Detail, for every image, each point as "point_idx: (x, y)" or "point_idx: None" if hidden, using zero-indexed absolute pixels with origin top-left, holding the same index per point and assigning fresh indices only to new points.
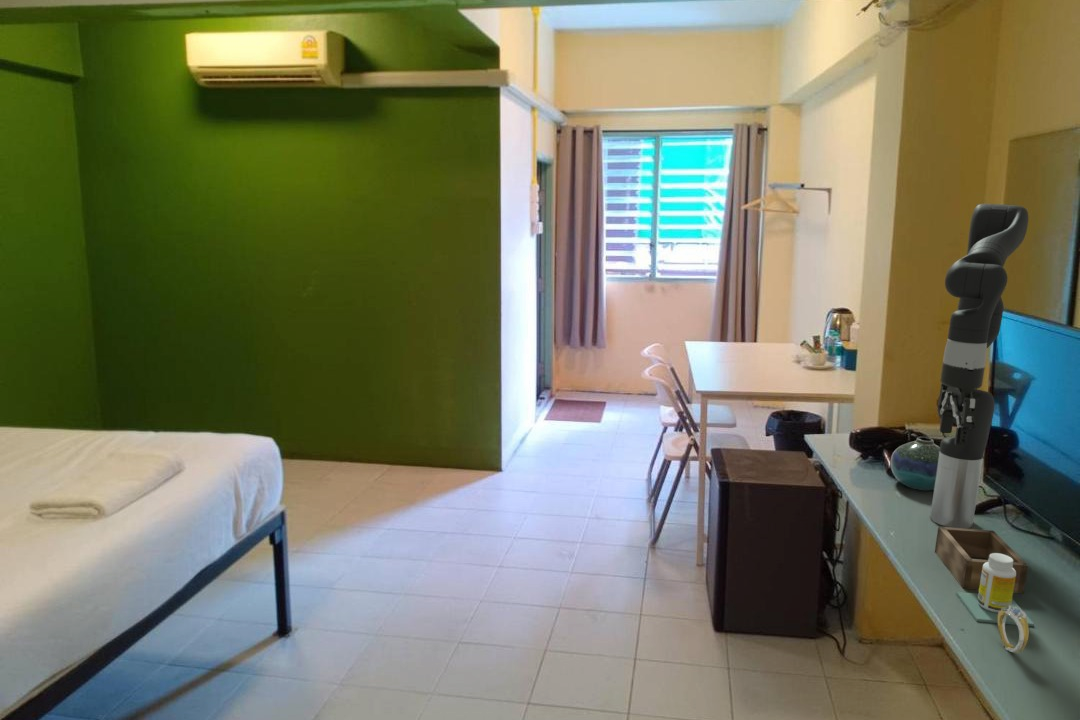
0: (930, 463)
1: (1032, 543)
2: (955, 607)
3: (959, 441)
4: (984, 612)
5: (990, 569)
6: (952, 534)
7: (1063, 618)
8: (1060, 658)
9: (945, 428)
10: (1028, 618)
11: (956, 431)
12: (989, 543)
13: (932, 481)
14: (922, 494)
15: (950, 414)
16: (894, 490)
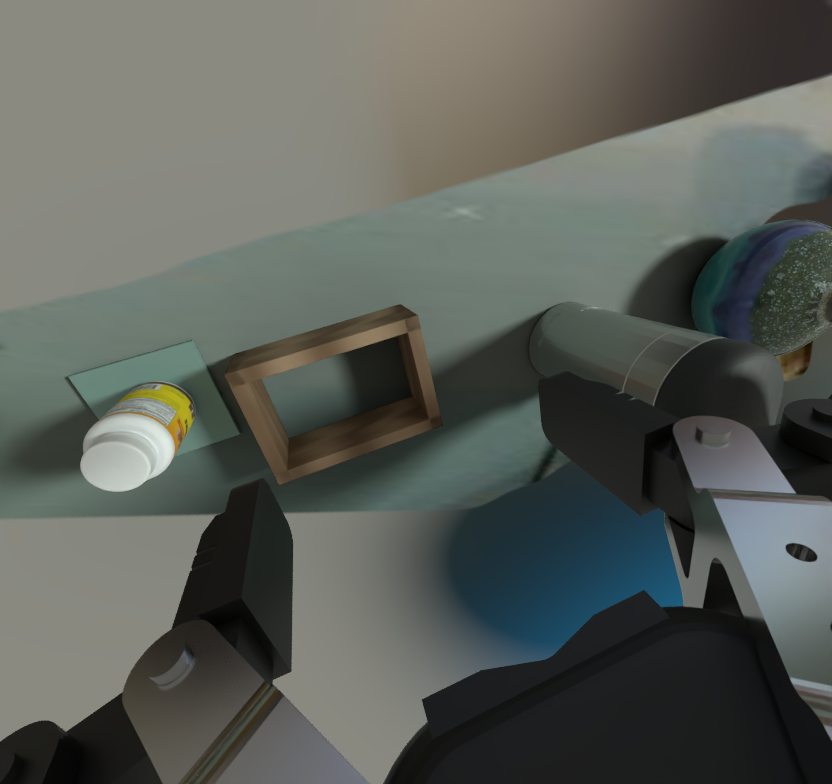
0: (749, 310)
1: (506, 462)
2: (116, 336)
3: (203, 535)
4: (117, 391)
5: (92, 434)
6: (408, 344)
7: (212, 505)
8: (18, 504)
9: (560, 415)
10: None
11: (238, 562)
12: (417, 411)
13: (701, 312)
14: (678, 292)
15: (665, 501)
16: (692, 233)
